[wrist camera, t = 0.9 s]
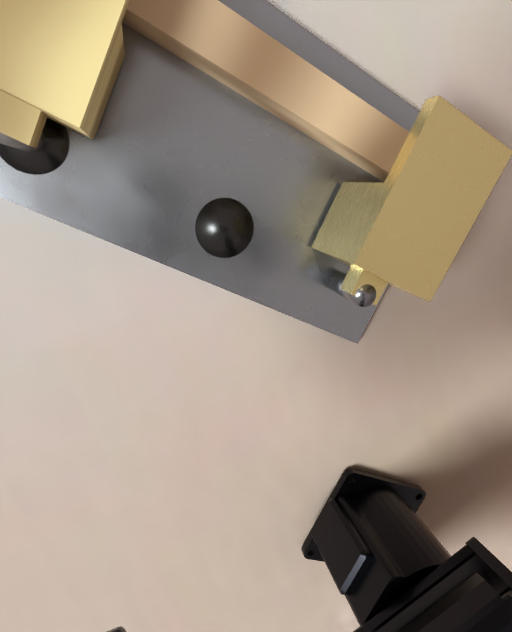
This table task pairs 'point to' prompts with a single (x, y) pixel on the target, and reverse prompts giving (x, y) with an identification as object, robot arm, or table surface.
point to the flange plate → (208, 175)
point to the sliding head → (413, 208)
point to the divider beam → (187, 43)
